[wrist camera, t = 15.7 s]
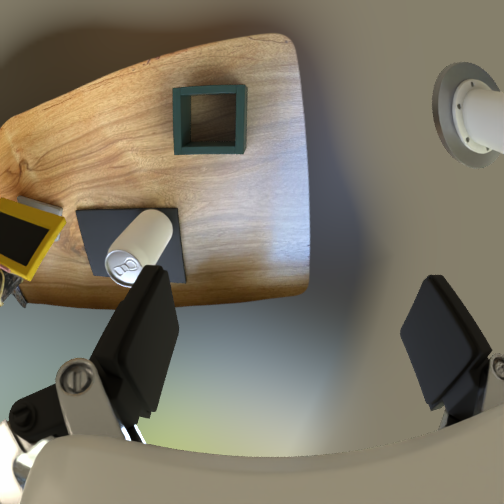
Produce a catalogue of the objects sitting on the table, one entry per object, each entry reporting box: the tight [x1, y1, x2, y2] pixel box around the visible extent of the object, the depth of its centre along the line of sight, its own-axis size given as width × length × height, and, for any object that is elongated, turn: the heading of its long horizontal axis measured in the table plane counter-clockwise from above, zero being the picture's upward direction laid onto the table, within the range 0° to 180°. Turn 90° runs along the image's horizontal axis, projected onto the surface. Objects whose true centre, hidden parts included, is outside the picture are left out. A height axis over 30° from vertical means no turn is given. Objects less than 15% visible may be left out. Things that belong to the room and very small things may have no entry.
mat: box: [76, 208, 186, 283], centre depth 44 cm, size 20×14×1 cm
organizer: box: [173, 85, 248, 155], centre depth 31 cm, size 9×9×5 cm
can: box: [105, 209, 173, 287], centre depth 36 cm, size 6×6×12 cm
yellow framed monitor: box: [0, 196, 66, 281], centre depth 34 cm, size 20×8×16 cm, turn 73°
